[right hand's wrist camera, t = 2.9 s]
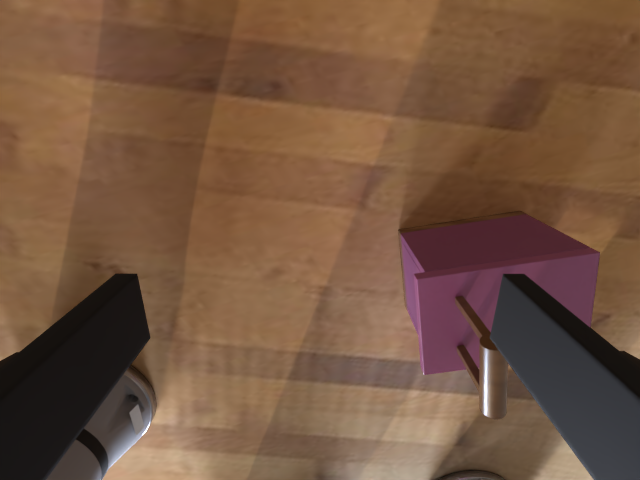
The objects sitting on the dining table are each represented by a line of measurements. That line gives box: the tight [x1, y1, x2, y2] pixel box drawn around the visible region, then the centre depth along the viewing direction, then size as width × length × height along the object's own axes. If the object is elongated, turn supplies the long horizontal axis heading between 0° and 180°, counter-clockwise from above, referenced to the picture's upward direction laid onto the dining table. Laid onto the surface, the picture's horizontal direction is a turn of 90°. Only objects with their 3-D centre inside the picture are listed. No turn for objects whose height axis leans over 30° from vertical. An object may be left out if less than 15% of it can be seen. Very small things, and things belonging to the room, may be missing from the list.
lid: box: [414, 248, 600, 419], centre depth 27 cm, size 15×10×8 cm
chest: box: [398, 211, 590, 333], centre depth 36 cm, size 14×10×11 cm
